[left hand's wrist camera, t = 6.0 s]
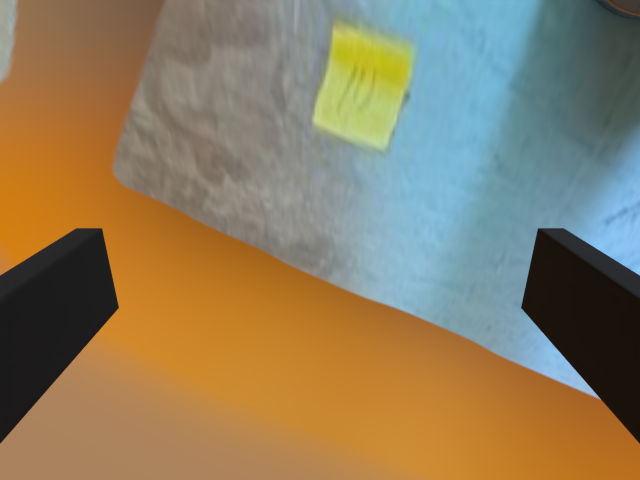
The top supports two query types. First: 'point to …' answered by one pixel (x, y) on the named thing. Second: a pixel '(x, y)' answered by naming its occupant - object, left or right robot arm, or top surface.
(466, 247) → the top surface
